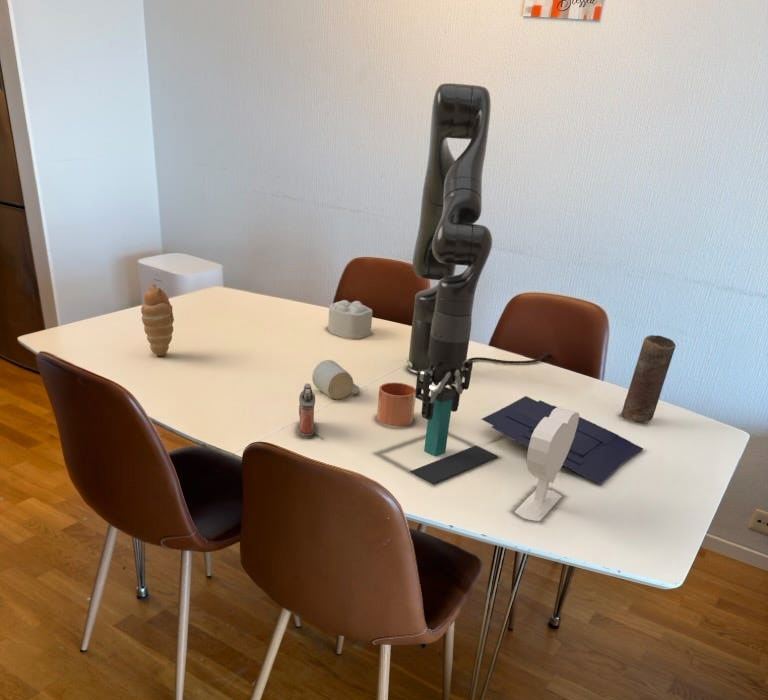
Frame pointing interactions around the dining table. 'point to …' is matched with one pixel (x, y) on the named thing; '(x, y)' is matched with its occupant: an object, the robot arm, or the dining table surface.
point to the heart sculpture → (548, 460)
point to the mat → (454, 464)
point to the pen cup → (396, 404)
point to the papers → (590, 444)
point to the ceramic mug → (333, 380)
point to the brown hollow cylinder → (648, 378)
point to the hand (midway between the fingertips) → (439, 414)
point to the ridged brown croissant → (157, 320)
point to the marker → (439, 423)
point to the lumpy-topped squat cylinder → (350, 319)
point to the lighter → (306, 412)
